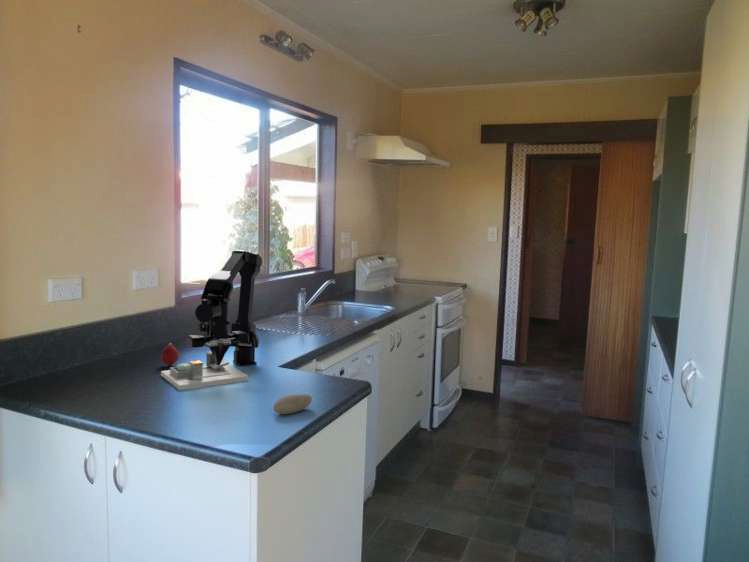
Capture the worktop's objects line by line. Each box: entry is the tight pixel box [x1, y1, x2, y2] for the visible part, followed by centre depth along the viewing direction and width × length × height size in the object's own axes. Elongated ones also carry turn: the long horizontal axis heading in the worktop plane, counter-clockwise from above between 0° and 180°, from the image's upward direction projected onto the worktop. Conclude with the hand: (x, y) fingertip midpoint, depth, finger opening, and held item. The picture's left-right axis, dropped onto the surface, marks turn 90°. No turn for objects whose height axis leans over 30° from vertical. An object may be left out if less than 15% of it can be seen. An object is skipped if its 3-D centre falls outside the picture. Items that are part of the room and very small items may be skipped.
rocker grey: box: [210, 359, 230, 369], centre depth 189 cm, size 5×4×1 cm
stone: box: [273, 393, 313, 415], centre depth 156 cm, size 6×6×12 cm
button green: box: [176, 363, 190, 372], centre depth 181 cm, size 4×4×2 cm
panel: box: [160, 364, 249, 391], centre depth 184 cm, size 22×18×4 cm
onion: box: [160, 342, 180, 367], centre depth 196 cm, size 6×6×8 cm
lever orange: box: [188, 359, 204, 380], centre depth 178 cm, size 3×3×5 cm
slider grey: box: [205, 350, 215, 368], centre depth 191 cm, size 3×3×5 cm
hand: (217, 365), depth 182 cm, fingers closed
